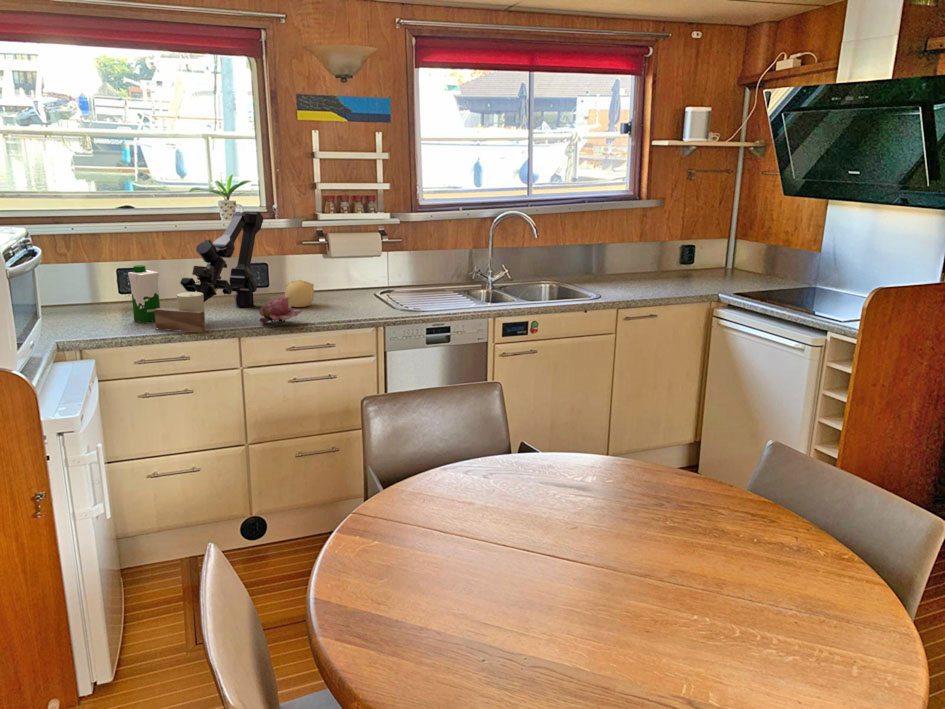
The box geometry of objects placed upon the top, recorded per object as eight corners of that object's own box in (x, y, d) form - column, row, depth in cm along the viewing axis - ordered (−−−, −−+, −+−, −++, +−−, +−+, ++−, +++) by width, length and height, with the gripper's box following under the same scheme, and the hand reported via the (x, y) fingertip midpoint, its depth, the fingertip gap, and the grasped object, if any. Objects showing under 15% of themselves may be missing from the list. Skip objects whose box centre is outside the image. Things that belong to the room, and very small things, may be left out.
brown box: (160, 327, 274) (159, 308, 272) (205, 330, 270) (204, 311, 268) (156, 328, 271) (154, 309, 270) (201, 332, 267) (199, 312, 265)
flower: (306, 312, 288) (296, 288, 284) (298, 326, 274) (287, 301, 271) (269, 322, 290) (259, 298, 286) (259, 336, 276) (248, 311, 272)
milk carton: (150, 316, 290) (145, 264, 285) (166, 319, 286) (161, 266, 280) (130, 320, 283) (124, 267, 278) (145, 324, 278) (140, 269, 273)
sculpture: (316, 303, 319) (315, 277, 316) (311, 309, 308) (310, 282, 305) (288, 303, 319) (287, 277, 316) (282, 309, 307) (281, 282, 304)
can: (181, 329, 271) (178, 296, 268) (176, 324, 279) (173, 291, 276) (208, 326, 276) (206, 294, 272) (203, 321, 283) (200, 289, 280)
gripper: (180, 255, 283) (164, 290, 275) (226, 258, 278) (211, 293, 271) (195, 273, 292) (180, 307, 285) (239, 276, 288) (224, 311, 280)
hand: (198, 304), depth 280 cm, fingers closed, pressing on can
